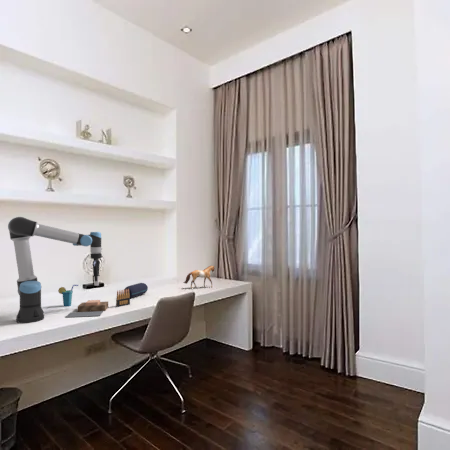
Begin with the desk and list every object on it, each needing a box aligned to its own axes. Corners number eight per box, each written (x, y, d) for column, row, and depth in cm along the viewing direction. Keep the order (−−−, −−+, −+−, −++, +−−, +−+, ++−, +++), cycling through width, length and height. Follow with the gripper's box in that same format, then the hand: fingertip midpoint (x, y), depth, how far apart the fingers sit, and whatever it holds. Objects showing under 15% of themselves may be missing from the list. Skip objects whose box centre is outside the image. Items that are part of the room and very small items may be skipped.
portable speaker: (139, 293, 299) (139, 281, 299) (149, 293, 295) (149, 282, 295) (121, 298, 275) (121, 286, 275) (131, 299, 272) (131, 287, 272)
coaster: (85, 305, 232) (85, 302, 232) (88, 303, 240) (88, 300, 240) (97, 305, 234) (97, 302, 234) (100, 302, 242) (100, 299, 242)
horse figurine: (214, 286, 331) (214, 265, 332) (217, 287, 324) (216, 266, 324) (183, 288, 321) (183, 266, 321) (185, 289, 314) (185, 267, 314)
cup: (76, 303, 259) (76, 283, 259) (80, 304, 253) (80, 284, 254) (56, 306, 249) (56, 285, 249) (60, 307, 244) (60, 287, 244)
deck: (77, 312, 231) (77, 306, 231) (82, 308, 242) (82, 302, 242) (105, 310, 233) (105, 305, 234) (108, 307, 245) (108, 301, 245)
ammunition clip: (128, 304, 255) (128, 288, 255) (130, 304, 253) (130, 288, 254) (115, 306, 246) (115, 290, 247) (117, 307, 245) (117, 290, 245)
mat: (65, 317, 216) (65, 317, 216) (70, 313, 228) (70, 312, 228) (99, 316, 220) (99, 315, 220) (103, 311, 231) (103, 311, 231)
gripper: (99, 253, 242) (100, 286, 241) (103, 252, 254) (103, 283, 254) (88, 253, 240) (88, 287, 240) (92, 252, 253) (93, 284, 253)
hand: (96, 285), depth 247 cm, fingers closed
